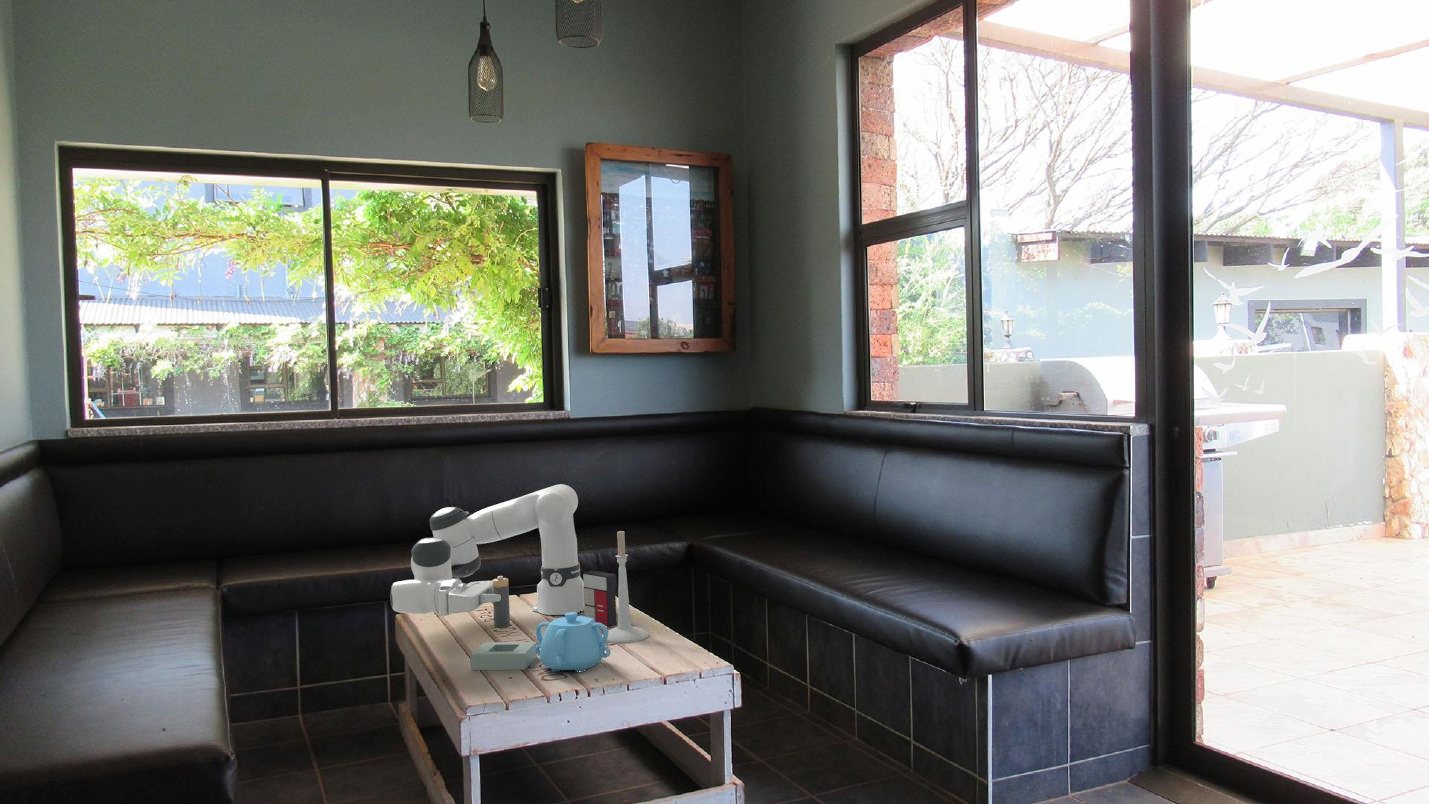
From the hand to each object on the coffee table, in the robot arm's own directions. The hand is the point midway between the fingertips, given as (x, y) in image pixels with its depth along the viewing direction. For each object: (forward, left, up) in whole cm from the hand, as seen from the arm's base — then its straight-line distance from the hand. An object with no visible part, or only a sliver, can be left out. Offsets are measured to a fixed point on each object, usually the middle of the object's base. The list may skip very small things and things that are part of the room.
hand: (504, 594), depth 255 cm
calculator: (-39, +16, -18) cm, 46 cm away
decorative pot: (+3, +18, -18) cm, 26 cm away
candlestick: (-24, +26, -18) cm, 40 cm away
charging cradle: (0, -1, -18) cm, 18 cm away
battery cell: (0, -1, -8) cm, 8 cm away
